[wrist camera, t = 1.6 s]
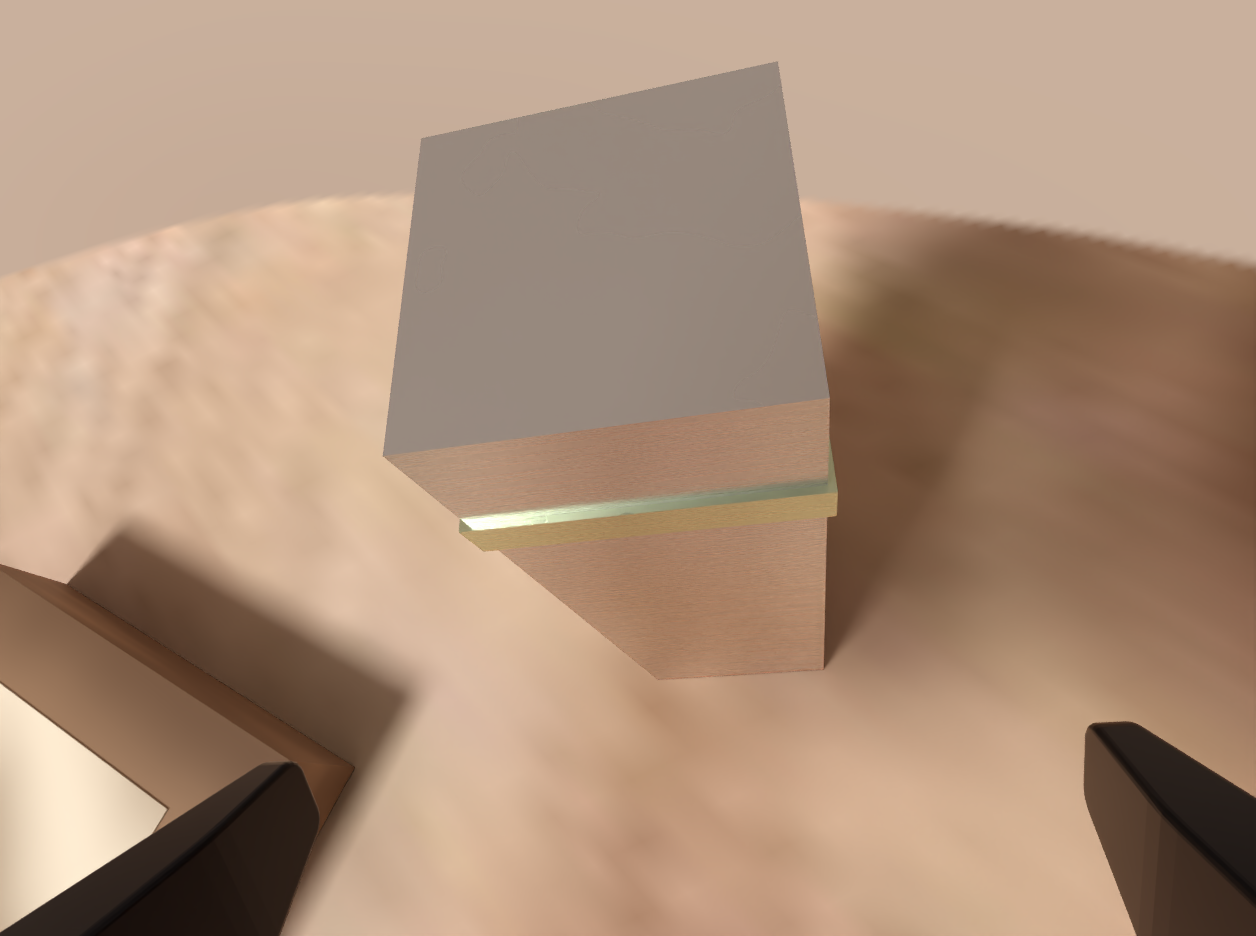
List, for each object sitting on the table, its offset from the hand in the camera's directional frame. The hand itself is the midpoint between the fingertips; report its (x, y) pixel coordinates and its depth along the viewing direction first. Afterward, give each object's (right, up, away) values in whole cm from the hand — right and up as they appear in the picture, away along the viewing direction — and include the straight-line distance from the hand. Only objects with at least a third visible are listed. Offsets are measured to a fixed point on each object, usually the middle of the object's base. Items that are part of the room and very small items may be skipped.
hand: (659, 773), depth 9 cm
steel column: (+3, 0, +13) cm, 13 cm away
